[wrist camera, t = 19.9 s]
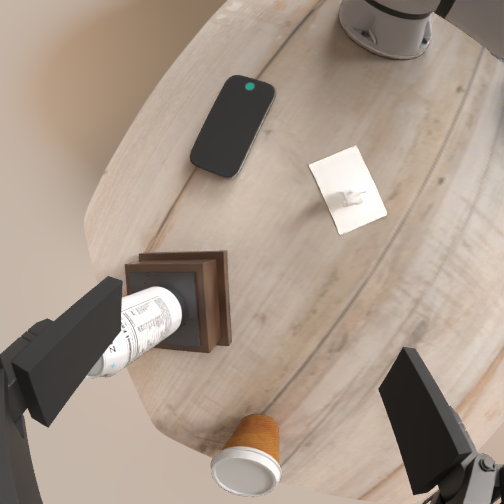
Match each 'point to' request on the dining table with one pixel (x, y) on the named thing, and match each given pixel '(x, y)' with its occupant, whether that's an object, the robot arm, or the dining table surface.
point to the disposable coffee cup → (249, 458)
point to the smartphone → (232, 126)
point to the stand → (189, 295)
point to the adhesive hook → (348, 189)
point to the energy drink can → (139, 329)
